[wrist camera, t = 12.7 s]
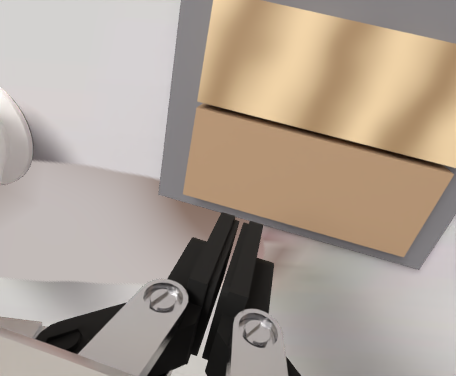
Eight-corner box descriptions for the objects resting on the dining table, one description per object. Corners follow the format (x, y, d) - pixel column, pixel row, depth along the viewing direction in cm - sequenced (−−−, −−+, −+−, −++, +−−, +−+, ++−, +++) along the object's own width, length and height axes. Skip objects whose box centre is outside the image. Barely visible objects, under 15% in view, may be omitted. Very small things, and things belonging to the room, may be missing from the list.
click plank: (505, 58, 20) (525, 59, 19) (446, 159, 24) (458, 168, 22) (221, -6, 22) (214, -11, 20) (203, 97, 25) (197, 101, 24)
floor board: (582, 1, 19) (628, -6, 17) (415, 262, 29) (427, 284, 27) (195, -78, 21) (181, -96, 19) (162, 190, 31) (149, 203, 29)
